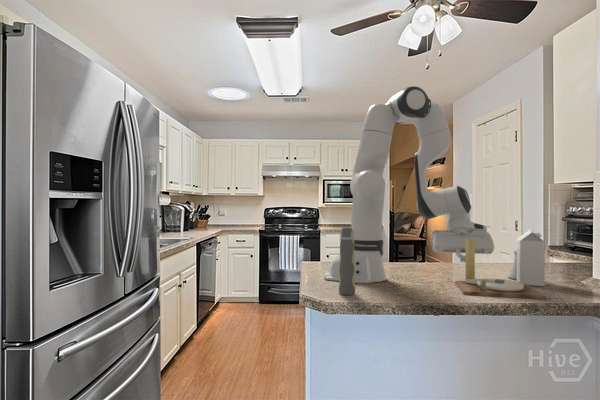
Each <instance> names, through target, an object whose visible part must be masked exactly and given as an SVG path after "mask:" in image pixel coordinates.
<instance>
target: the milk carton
mask: <svg viewBox="0 0 600 400" xmlns="http://www.w3.org/2000/svg"><path fill="white" fill-rule="evenodd" d="M541 237H542V235H541V233H539V232H538V231H535V232H534V231H533V229H532V228H529V227H527V231H526V232H524V233H523V234H521V235H520V236H519V237H517V238H516V251H517V280H516V282H519V283H522V284H527V285H529V286H531V287H532V286H535V287H545V286H546V282H545V281H546V279H545V278H546V276H545V275H546V273H545V270H546V269H545V266H546V265H545V261H546V259H545V258H546V256H545V254H546V253H545V248H546V247H545V241H544V240H543V239H542V238H541Z"/></svg>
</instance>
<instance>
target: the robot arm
mask: <svg viewBox="0 0 600 400" xmlns="http://www.w3.org/2000/svg"><path fill="white" fill-rule="evenodd" d="M405 122H411V123H412V124H413V125H414V126H415V129H416V132H417V136H418V140H419V145H418V149H417V151H416V152H415V154H414V159H413V160H414V161H413V162H414V163H413V164H414V165H413V166H414V176H415V177H414V178H415V188H416V190H415V191H416V208H417V212H418V215H420V216H421V217H422V218H424V219H426V220H431V219H434V218H438V217H440V216H445V220H446V229H445V230H437V229H436V230H434V231H431V233H430V236H431V237H430V238H431V239H432V240H433V242H432V250H433V252H435V253H445V254H446V253H452V254H455V256H456V257H457V258H458V259H459V262H460V263H466V255H463V254H466V239H475V255H476V254H477V255H480V254H481V255H491V254H492V253H493V252H494V251H495V250H494V249H495V243H494V240H493V237H492V236H491V234H490V232H488V227H487V225H485V224H481V223H476V222H474V221H472V220H471V213H470V211H471V210H472V206H471V202H470V197H469V196H470V195H469V193H468V191H467V190H466V189H465V188H463V187H461V186H459V185H455V186H450V187H447V188H446V187H445V188H443V189H437V190H435V191H429V190H428V178H427V170H428V168H429V166H430V165H431V164H432V163H433V162H435V161H436V160H438V159H439V158H440V157H442V156H444V155H445V154H446V153H447V151H449V149H450V147H451V145H452V135H451V131H450V126H449V124H448V121H447V118H446V116H445V112H444V111H443V109H442V107H441V106H440V105H439V104H437V103H434V102H432V101H431V99H430V98H429V96H428V94H427V93H426V91H425V90H424V89H422V88H421V87H419V86H415V85H413V86H408V87H405V88H403V89H402V90H400V91H398V92H396V93H395V94H393V95H392V96H391V97H389V98H388V99H387V100H386V102H385V103H374V104H373V105H371V106H370V107H369V108H368V110H367V113H366V115H365V118H364V122H363V125H362V129H361V135H360V139H359V145H358V149H357V154H356V158H355V163H354V166H353V171H352V174H351V180H350V185H349V189H350V190H349V191H350V192H351V193H350V194H351V195H352V204H351V205H352V209H351V218H350V219H351V220H350V221H351V228H352V229H353V230H354V266H355V283H356V284H370V283H376V282H377V283H378V282H379V283H380V282H383V281H386V280H388V279H387V275H386V271H385V267H384V266H385V265H384V258H383V257H384V254H385V252H384V250H385V247H384V246H385V244H384V239H383V214H384V213H383V212H384V206H385V205H384V204H385V193H386V181H385V177H383V175H384V171H385V168H386V165H387V161H388V158H389V154H390V149H391V144H392V143H391V142H392V139H393V133H394V128H395V125H399V124H403V123H405ZM339 269H340V253H339V254H338V255H337V256H336V257H334V258H333V259H332V261H331V263H330V268H329V271H327V272H325V273H323V274H324V275H323V279H325V280H328V281H336V282H339V279H340V271H339Z"/></svg>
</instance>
